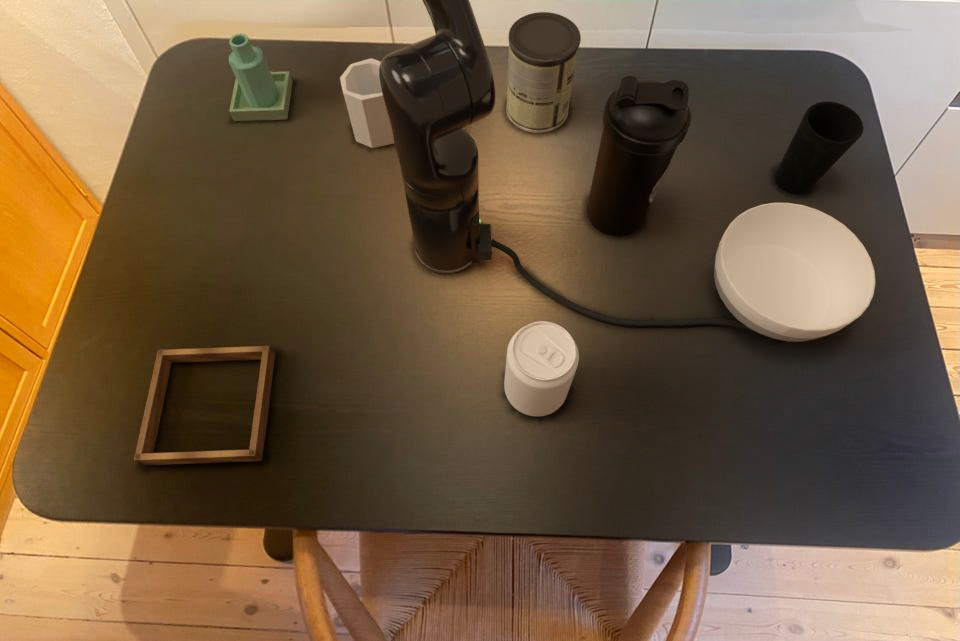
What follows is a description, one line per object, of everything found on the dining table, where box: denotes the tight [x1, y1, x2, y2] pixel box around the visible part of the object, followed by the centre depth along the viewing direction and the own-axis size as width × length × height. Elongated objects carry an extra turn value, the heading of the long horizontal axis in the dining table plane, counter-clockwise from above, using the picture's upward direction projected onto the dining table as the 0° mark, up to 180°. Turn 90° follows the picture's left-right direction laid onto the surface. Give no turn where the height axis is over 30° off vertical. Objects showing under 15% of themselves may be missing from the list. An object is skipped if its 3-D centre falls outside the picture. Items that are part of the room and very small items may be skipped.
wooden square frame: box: [133, 345, 276, 466], centre depth 75 cm, size 14×14×3 cm
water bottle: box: [586, 75, 692, 237], centre depth 79 cm, size 10×10×23 cm
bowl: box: [713, 202, 876, 342], centre depth 79 cm, size 19×19×9 cm
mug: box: [339, 57, 395, 149], centre depth 93 cm, size 12×9×10 cm
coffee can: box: [505, 11, 582, 134], centre depth 93 cm, size 10×10×14 cm
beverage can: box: [503, 320, 580, 417], centre depth 72 cm, size 8×8×12 cm
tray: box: [228, 70, 294, 122], centre depth 99 cm, size 9×9×2 cm
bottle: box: [228, 33, 279, 108], centre depth 95 cm, size 5×5×11 cm
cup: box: [774, 101, 864, 195], centre depth 87 cm, size 8×8×12 cm
